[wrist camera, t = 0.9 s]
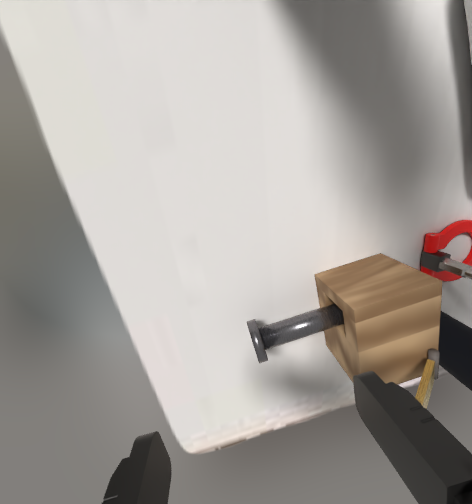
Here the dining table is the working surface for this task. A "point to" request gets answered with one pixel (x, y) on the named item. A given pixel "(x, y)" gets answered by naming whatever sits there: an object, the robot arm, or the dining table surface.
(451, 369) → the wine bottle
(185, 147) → the dining table surface
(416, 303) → the block
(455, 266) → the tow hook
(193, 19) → the dining table surface
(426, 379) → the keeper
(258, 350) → the pin
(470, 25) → the salad plate
